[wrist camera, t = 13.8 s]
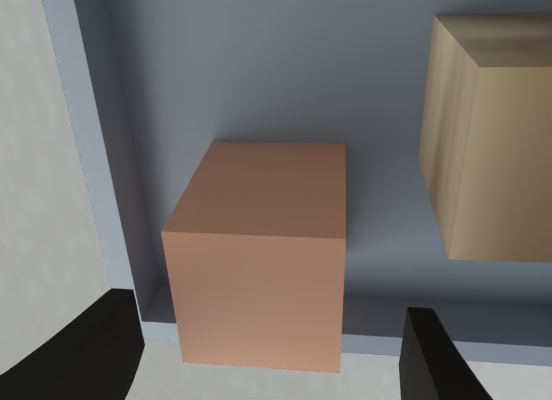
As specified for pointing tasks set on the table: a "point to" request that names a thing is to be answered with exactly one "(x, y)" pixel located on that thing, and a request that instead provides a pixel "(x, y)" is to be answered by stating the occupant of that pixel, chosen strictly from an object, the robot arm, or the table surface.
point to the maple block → (490, 135)
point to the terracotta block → (261, 256)
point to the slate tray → (286, 129)
